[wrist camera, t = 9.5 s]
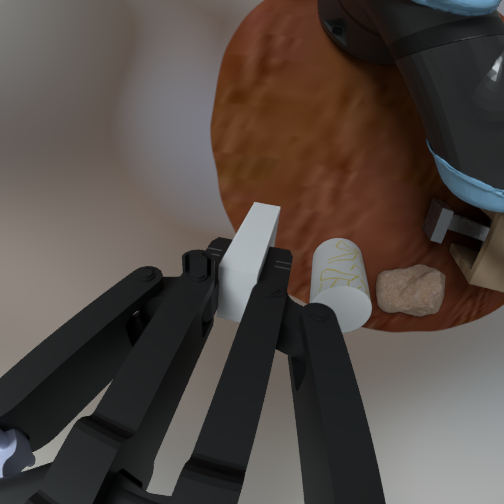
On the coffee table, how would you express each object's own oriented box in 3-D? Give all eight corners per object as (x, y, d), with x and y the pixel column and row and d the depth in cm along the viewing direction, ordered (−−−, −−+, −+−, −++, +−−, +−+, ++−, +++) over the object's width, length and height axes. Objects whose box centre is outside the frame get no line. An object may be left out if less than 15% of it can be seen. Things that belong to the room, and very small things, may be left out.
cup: (370, 248, 42) (383, 297, 32) (349, 287, 46) (353, 339, 36) (324, 231, 42) (324, 277, 32) (305, 272, 47) (299, 323, 37)
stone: (439, 258, 42) (450, 262, 33) (443, 309, 42) (453, 324, 33) (375, 268, 48) (371, 274, 39) (380, 318, 48) (376, 334, 39)
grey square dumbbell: (432, 192, 34) (443, 204, 31) (534, 234, 31) (546, 247, 27) (419, 228, 38) (429, 243, 34) (521, 261, 34) (532, 275, 31)
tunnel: (472, 190, 33) (501, 214, 25) (507, 206, 32) (536, 231, 24) (448, 250, 39) (468, 283, 31) (484, 261, 37) (505, 292, 30)
